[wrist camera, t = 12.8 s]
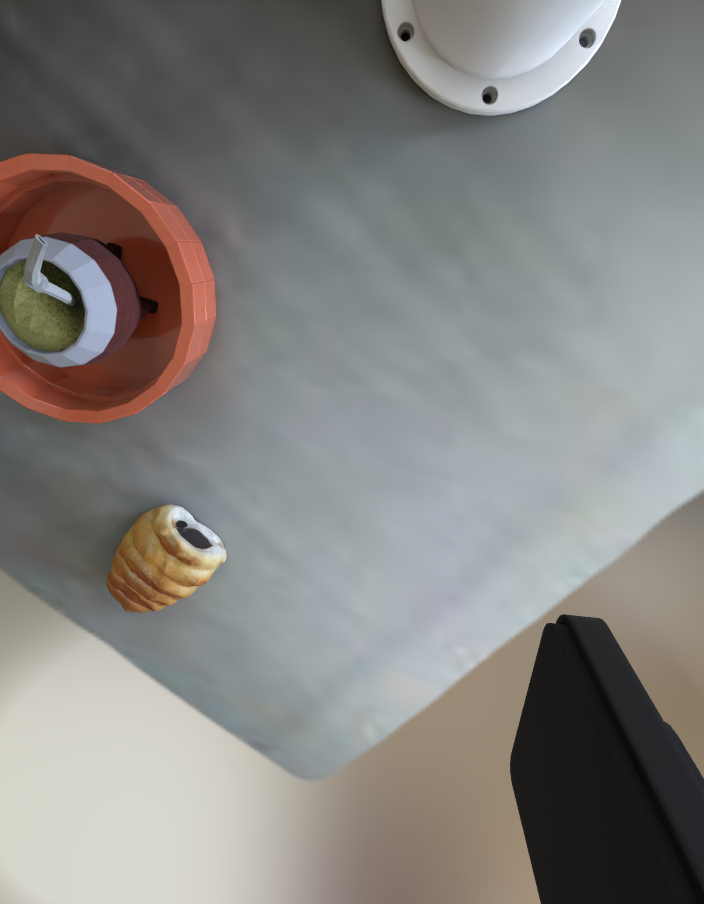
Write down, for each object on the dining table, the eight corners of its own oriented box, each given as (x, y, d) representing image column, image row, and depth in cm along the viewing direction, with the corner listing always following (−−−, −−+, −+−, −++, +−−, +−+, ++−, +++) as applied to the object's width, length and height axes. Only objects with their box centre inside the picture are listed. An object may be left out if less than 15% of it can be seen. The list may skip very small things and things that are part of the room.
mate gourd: (51, 333, 37) (-153, 386, 23) (61, 206, 34) (-163, 178, 20) (163, 363, 37) (30, 435, 23) (181, 240, 34) (45, 237, 20)
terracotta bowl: (-26, 161, 34) (-91, 147, 29) (213, 171, 33) (186, 159, 29) (14, 395, 39) (-36, 416, 34) (222, 406, 39) (200, 429, 34)
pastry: (162, 617, 45) (142, 649, 41) (93, 564, 43) (68, 593, 40) (237, 545, 42) (223, 573, 39) (167, 487, 41) (146, 509, 37)
